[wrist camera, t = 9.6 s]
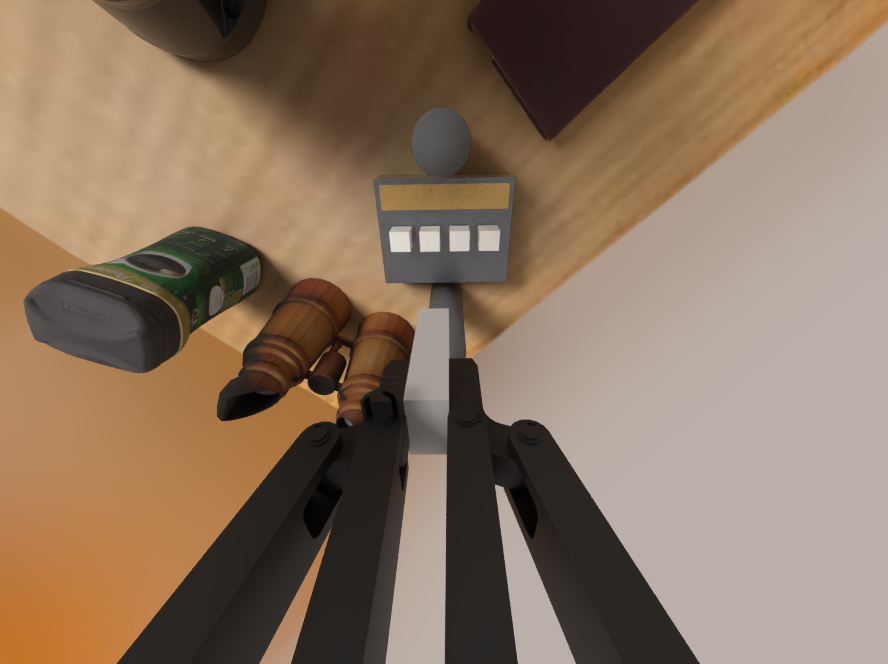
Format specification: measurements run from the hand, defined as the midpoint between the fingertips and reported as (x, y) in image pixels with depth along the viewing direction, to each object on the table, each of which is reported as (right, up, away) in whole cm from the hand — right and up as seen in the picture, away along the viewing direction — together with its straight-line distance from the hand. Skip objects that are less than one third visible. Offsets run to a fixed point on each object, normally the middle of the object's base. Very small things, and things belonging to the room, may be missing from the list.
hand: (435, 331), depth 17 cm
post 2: (+1, +5, +25) cm, 26 cm away
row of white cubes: (+1, +10, +18) cm, 21 cm away
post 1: (+1, +20, +17) cm, 26 cm away
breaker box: (+1, +13, +21) cm, 25 cm away
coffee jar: (-27, +9, +24) cm, 37 cm away
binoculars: (-12, +1, +28) cm, 31 cm away
